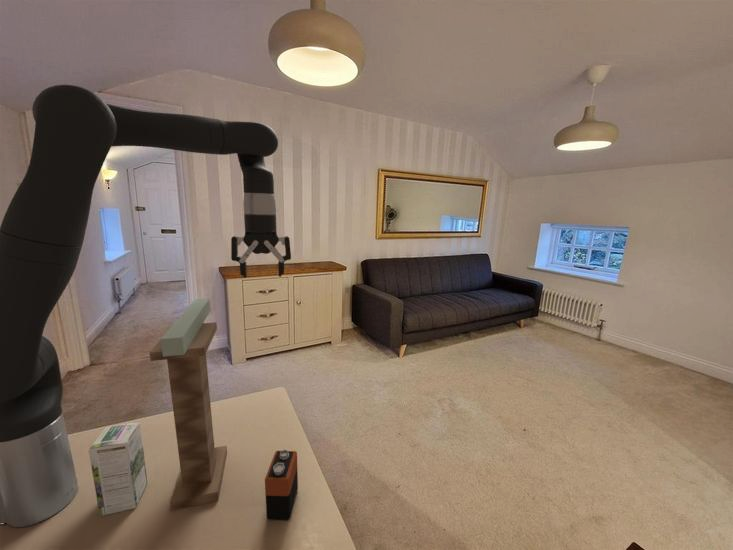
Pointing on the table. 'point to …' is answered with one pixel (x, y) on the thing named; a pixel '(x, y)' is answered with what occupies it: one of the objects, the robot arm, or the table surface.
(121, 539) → the table surface
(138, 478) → the syrup box
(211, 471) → the stand
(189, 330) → the peg
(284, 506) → the battery
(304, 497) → the table surface
